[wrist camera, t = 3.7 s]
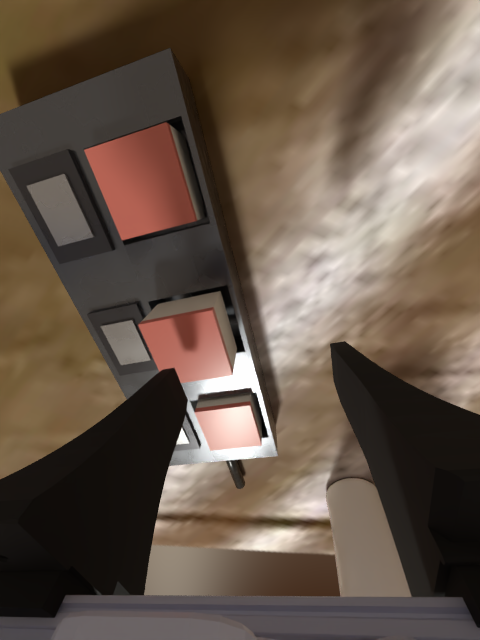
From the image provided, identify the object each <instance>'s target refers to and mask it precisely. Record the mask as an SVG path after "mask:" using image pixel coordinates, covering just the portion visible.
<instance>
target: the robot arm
mask: <svg viewBox="0 0 480 640" xmlns="http://www.w3.org/2000/svg"><path fill="white" fill-rule="evenodd" d="M330 347H331V358H332V368H333V378H334V383H335V387H336V390H337V393H338V396H339V399H340V402H341V404H342V407H343V409H344V411H345V413H346V415H347V418H348V420H349V422H350V424H351V426H352V428H353V431H354V433H355V435H356V437H357V439H358V442H359V444H360V446H361V448H362V450H363V453H364V455H365V458H366V460H367V463H368V465H369V468H370V471H371V474H372V477H373V480H374V483H375V485H376V488H377V491H378V494H379V497H380V500H381V503H382V506H383V509H384V512H385V515H386V518H387V521H388V524H389V527H390V530H391V533H392V536H393V539H394V542H395V546H396V549H397V552H398V555H399V558H400V561H401V564H402V568H403V571H404V574H405V577H406V580H407V584H408V587H409V590H410V593H411V596H412V597H334V596H333V597H332V596H327V597H326V596H324V597H323V596H153V595H152V596H150V595H146V596H145V595H144V590H145V583H146V576H147V570H148V563H149V556H150V551H151V545H152V539H153V534H154V528H155V523H156V518H157V513H158V508H159V503H160V499H161V494H162V490H163V486H164V482H165V477H166V474H167V471H168V467H169V464H170V461H171V458H172V455H173V452H174V449H175V447H176V444H177V441H178V438H179V435H180V432H181V429H182V426H183V422H184V419H185V414H186V409H187V403H188V399H187V397H186V394H185V392H184V389H183V387H182V385H181V382H180V380H179V377H178V375H177V373H176V370H175V368H169V369H163V370H161V371H160V372H159V373H157V374H156V375H155V376H154V377H152V378H151V379H150V380H149V381H148V382H147V383H146V384H144V385H143V386H142V387H141V388H140V389H139V390H138V391H136V392H135V393H134V394H133V395H132V396H131V397H130V398H128V399H127V400H126V401H125V402H124V403H122V404H121V405H120V406H119V407H117V408H116V409H115V410H114V411H113V412H111V413H110V414H109V415H108V416H106V417H105V418H104V419H102V420H101V421H100V422H98V423H97V424H96V425H94V426H93V427H91V428H90V429H88V430H87V431H86V432H84V433H83V434H81V435H80V436H78V437H76V438H75V439H73V440H72V441H70V442H68V443H67V444H65V445H64V446H62V447H60V448H59V449H57V450H56V451H54V452H52V453H50V454H49V455H47V456H45V457H43V458H42V459H40V460H38V461H36V462H34V463H32V464H30V465H29V466H27V467H25V468H23V469H21V470H19V471H17V472H15V473H13V474H11V475H9V476H7V477H5V478H2V479H0V640H480V415H478V414H476V413H473V412H471V411H468V410H465V409H463V408H460V407H458V406H455V405H453V404H451V403H448V402H446V401H443V400H441V399H439V398H437V397H434V396H432V395H430V394H428V393H426V392H424V391H422V390H420V389H418V388H416V387H414V386H412V385H410V384H408V383H406V382H404V381H403V380H401V379H399V378H397V377H396V376H394V375H392V374H391V373H389V372H387V371H386V370H384V369H383V368H381V367H380V366H378V365H377V364H375V363H374V362H372V361H371V360H369V359H368V358H367V357H365V356H364V355H363V354H361V353H360V352H358V351H357V350H356V349H355V348H353V347H352V346H351V345H349V344H348V343H346V342H345V341H344V342H338V343H331V344H330Z"/></svg>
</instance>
